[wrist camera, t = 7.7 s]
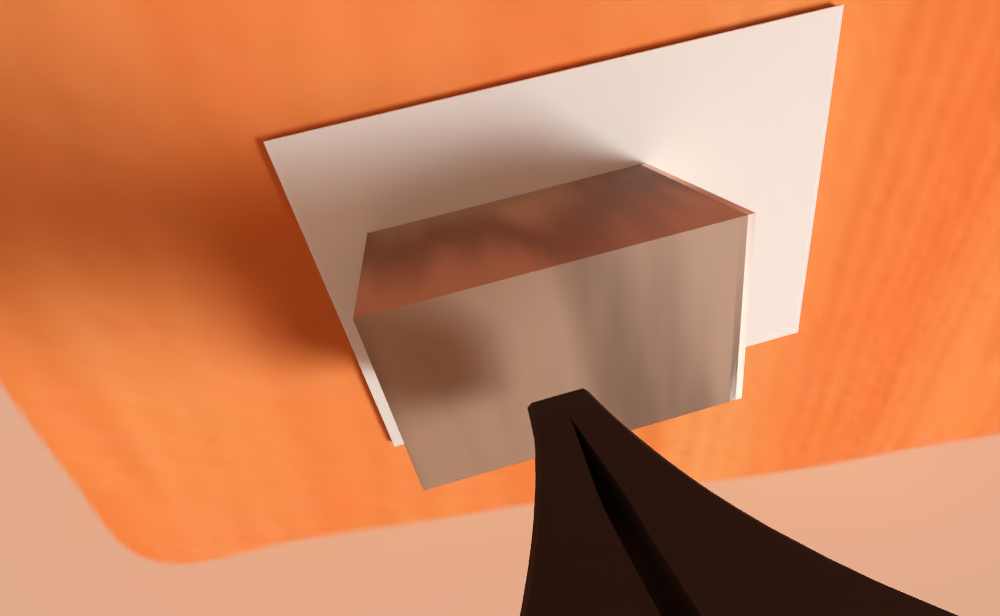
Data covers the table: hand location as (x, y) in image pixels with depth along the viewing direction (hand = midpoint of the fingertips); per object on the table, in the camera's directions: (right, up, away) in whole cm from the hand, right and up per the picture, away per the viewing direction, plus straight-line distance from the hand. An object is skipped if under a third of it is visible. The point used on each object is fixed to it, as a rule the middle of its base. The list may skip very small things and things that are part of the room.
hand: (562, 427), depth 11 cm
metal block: (+5, +4, +5) cm, 8 cm away
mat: (+2, +5, +8) cm, 9 cm away
